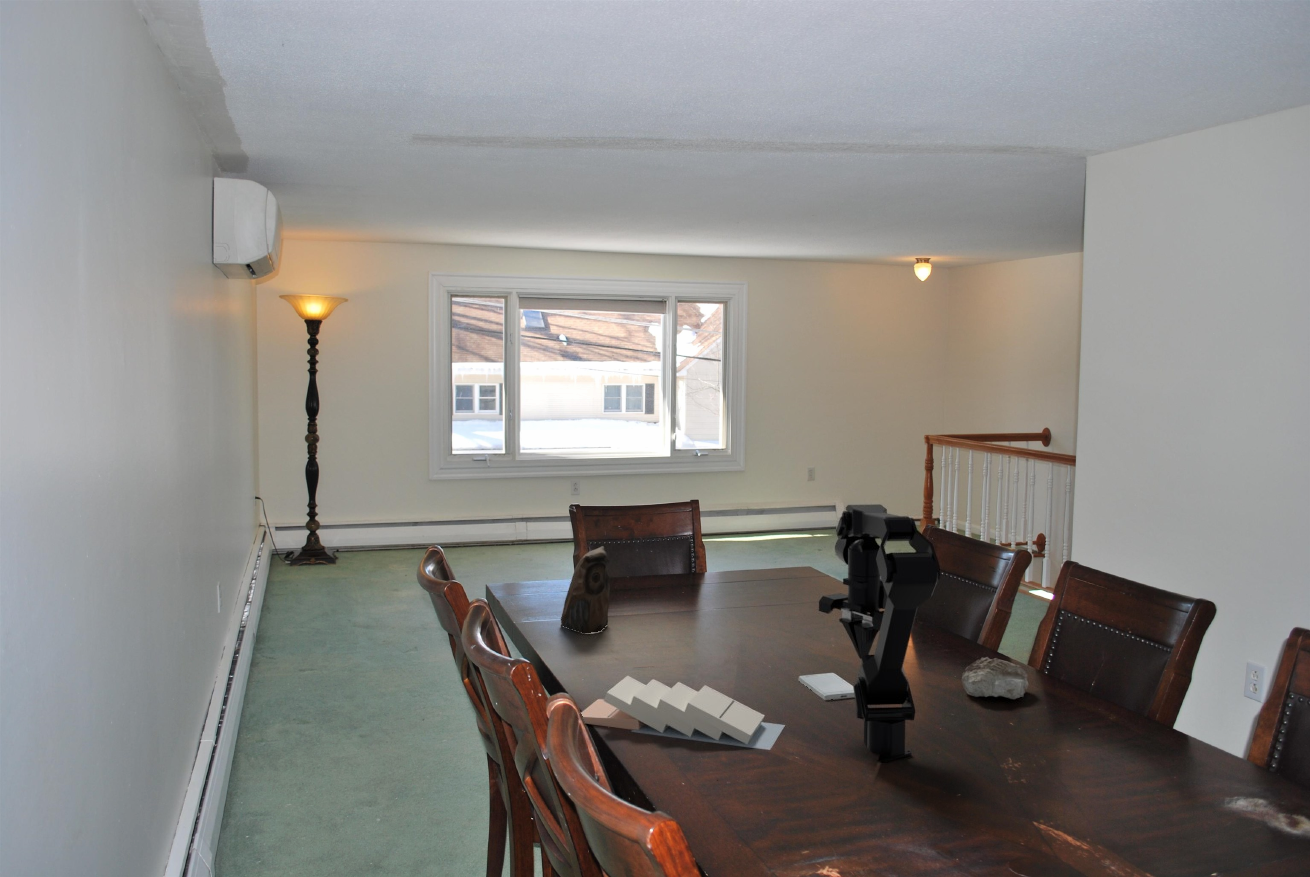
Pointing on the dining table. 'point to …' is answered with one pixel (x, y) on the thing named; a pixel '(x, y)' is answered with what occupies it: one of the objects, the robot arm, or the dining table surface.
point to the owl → (588, 594)
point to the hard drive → (828, 686)
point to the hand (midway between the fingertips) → (863, 658)
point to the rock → (994, 679)
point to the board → (725, 736)
